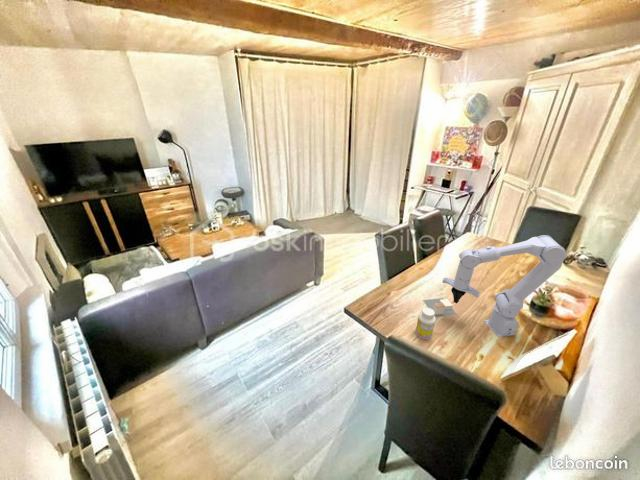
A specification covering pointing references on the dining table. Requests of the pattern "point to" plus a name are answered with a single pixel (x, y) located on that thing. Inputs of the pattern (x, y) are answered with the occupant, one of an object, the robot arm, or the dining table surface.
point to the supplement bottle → (426, 323)
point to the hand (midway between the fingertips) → (456, 301)
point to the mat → (431, 302)
